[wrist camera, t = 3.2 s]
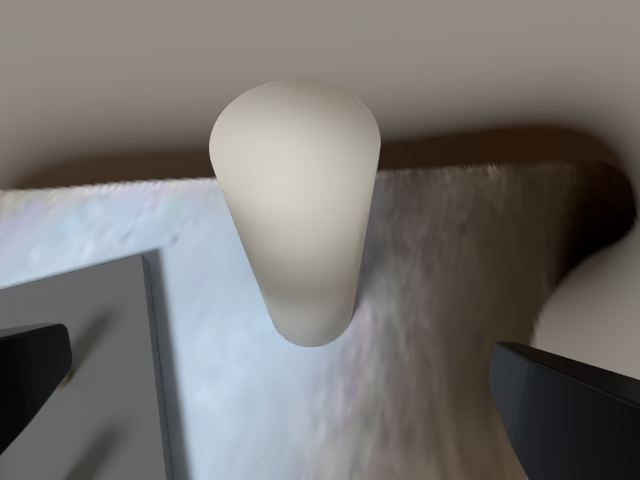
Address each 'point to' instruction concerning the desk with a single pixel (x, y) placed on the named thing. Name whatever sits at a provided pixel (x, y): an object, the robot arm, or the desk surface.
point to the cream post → (300, 198)
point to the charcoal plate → (95, 379)
